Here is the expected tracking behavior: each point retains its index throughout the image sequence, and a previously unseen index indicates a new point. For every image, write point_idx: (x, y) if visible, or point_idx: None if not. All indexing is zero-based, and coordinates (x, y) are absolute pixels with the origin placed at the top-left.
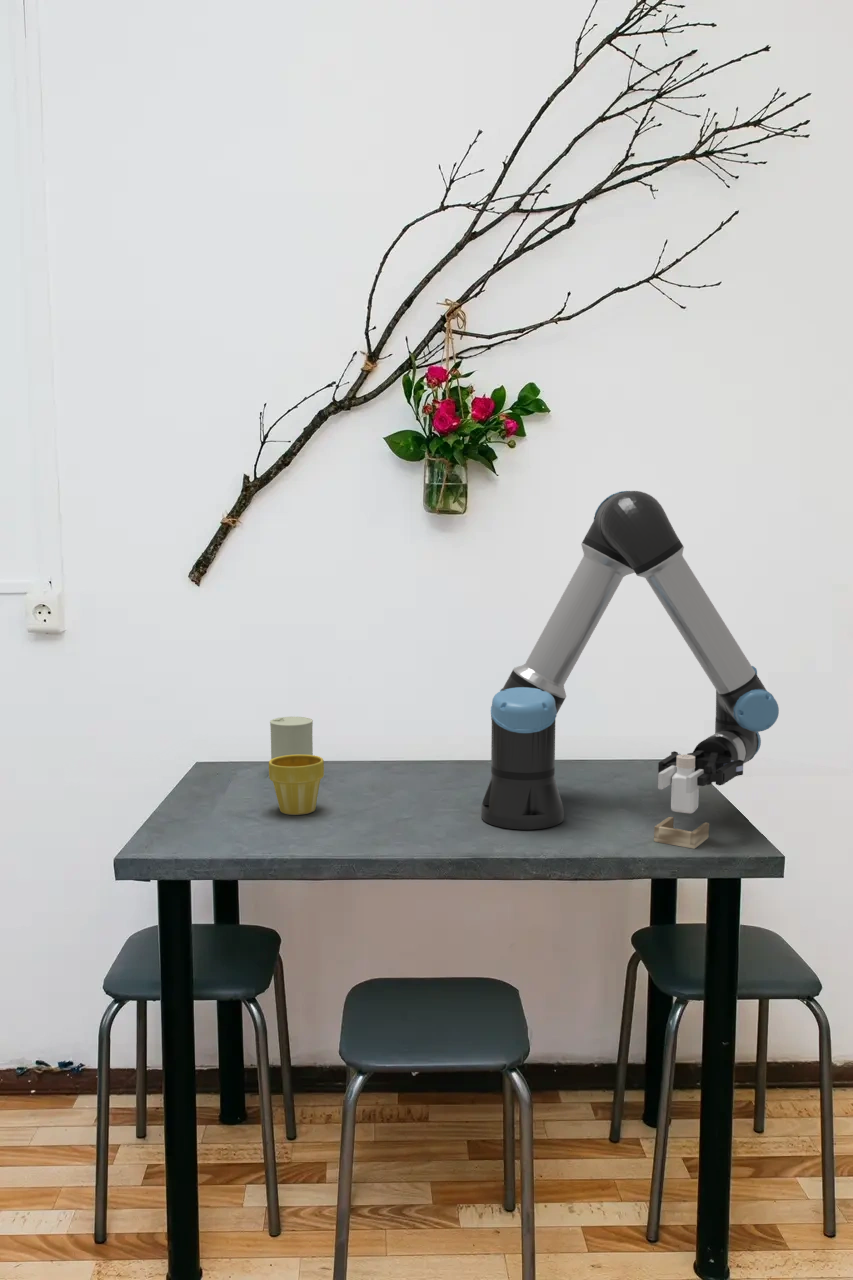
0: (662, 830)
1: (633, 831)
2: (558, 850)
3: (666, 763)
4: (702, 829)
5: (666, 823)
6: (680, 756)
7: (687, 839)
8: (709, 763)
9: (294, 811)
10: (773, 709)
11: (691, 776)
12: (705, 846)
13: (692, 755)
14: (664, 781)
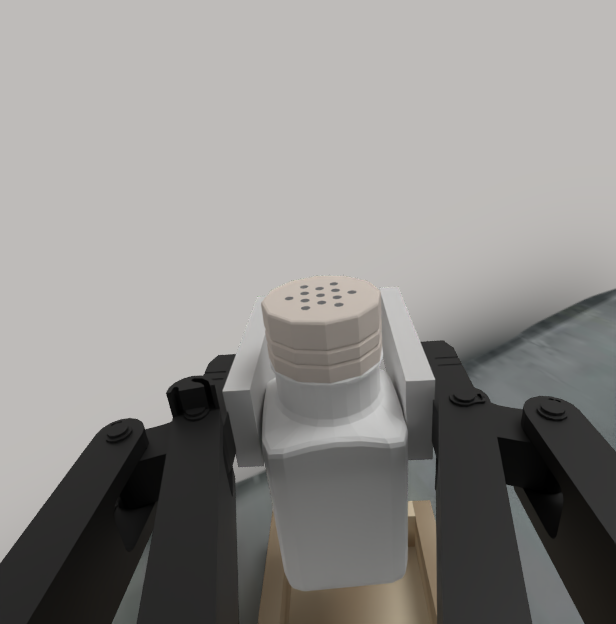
0: None
1: (578, 614)
2: (552, 371)
3: (539, 443)
4: (263, 590)
5: (428, 583)
6: (349, 286)
7: None
8: (198, 591)
9: None
10: None
11: (258, 304)
12: (251, 593)
13: (291, 319)
14: (383, 334)
